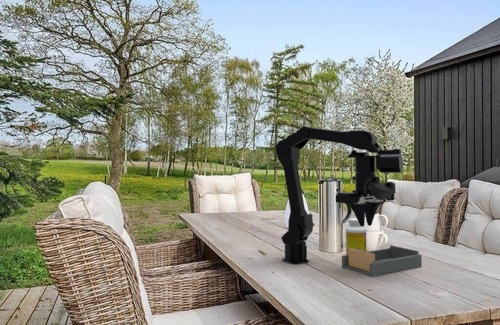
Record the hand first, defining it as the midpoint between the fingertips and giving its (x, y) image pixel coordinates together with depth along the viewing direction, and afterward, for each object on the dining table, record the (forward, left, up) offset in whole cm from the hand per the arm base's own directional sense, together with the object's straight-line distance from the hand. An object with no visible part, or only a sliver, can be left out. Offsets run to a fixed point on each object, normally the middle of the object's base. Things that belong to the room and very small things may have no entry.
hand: (365, 226), depth 115 cm
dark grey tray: (+6, 0, -13) cm, 15 cm away
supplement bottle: (+9, +13, -13) cm, 21 cm away
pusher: (-2, 0, -12) cm, 12 cm away
